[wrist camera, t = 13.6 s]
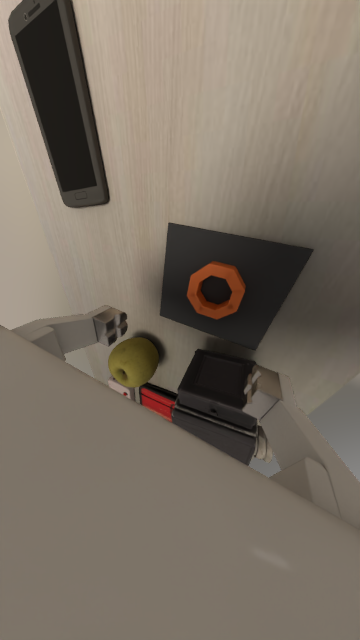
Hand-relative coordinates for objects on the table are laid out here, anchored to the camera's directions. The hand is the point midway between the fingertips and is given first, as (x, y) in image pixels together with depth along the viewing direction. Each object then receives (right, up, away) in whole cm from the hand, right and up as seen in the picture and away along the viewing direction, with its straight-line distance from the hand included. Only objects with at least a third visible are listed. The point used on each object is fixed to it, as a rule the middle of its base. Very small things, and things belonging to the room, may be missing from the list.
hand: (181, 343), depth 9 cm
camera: (+7, -7, +15) cm, 18 cm away
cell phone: (-12, +22, +7) cm, 26 cm away
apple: (-6, -4, +19) cm, 20 cm away
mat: (+4, +5, +9) cm, 11 cm away
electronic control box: (-15, -17, +31) cm, 38 cm away
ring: (+4, +5, +9) cm, 11 cm away
